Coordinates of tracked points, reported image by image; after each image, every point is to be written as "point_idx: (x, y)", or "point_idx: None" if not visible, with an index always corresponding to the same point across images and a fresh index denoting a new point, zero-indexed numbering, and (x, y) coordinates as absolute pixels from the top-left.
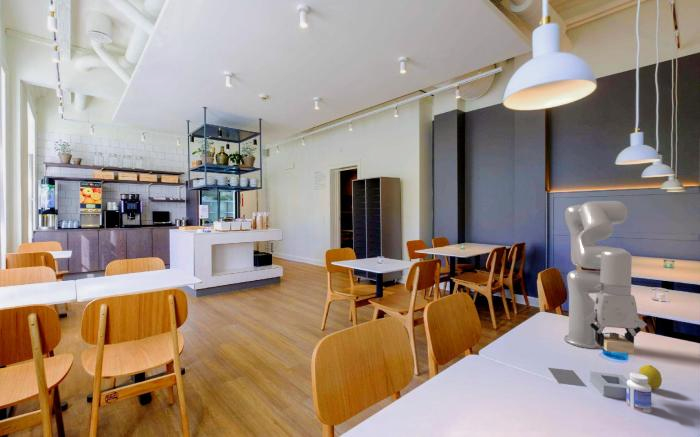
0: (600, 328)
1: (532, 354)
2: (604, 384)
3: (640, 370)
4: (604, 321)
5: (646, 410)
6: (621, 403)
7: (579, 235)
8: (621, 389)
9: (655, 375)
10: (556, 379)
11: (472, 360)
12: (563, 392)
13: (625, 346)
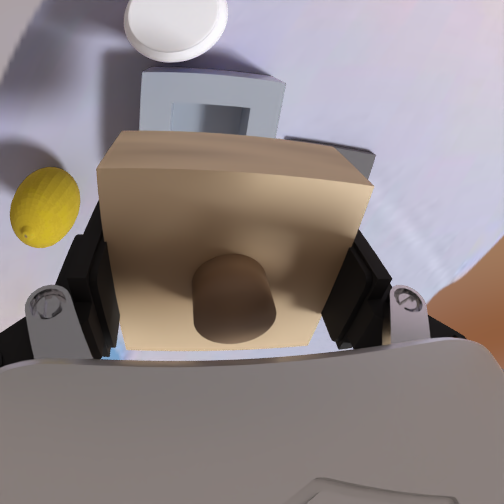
0: (421, 326)
1: (322, 321)
2: (277, 91)
3: (66, 221)
4: (496, 387)
5: None
6: (223, 49)
7: None
8: (213, 73)
9: (29, 188)
10: (367, 179)
11: (477, 253)
12: (386, 107)
13: (189, 152)
